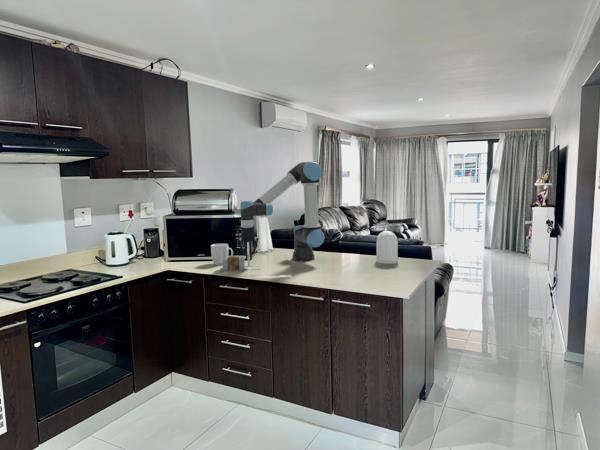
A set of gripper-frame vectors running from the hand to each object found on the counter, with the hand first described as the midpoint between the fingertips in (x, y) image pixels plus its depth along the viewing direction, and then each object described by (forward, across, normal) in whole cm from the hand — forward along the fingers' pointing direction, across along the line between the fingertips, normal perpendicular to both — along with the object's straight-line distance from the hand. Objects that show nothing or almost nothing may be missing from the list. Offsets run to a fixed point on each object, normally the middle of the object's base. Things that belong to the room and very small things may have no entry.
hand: (249, 265), depth 249 cm
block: (+2, +9, 0) cm, 9 cm away
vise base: (+3, +5, 0) cm, 6 cm away
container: (+3, -88, -8) cm, 89 cm away
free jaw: (+2, +4, 0) cm, 4 cm away
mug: (+3, +18, -21) cm, 28 cm away
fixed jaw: (+2, +14, 0) cm, 14 cm away
